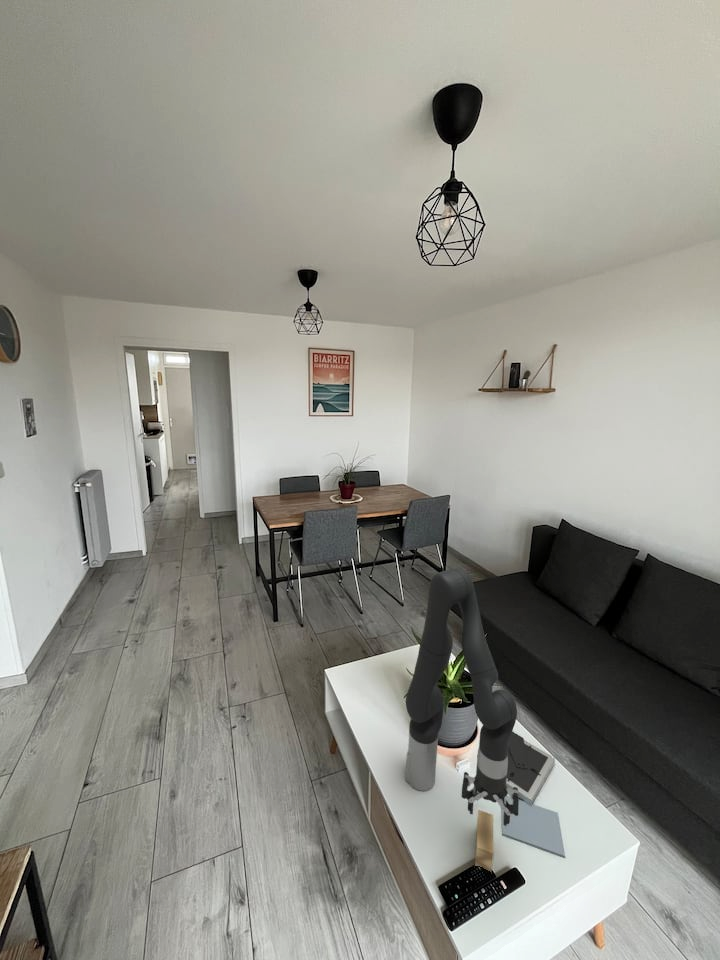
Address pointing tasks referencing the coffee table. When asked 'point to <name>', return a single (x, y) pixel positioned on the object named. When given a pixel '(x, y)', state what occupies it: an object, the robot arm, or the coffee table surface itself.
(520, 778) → the picture frame
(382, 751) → the coffee table surface
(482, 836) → the oak card box
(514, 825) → the slate mat
